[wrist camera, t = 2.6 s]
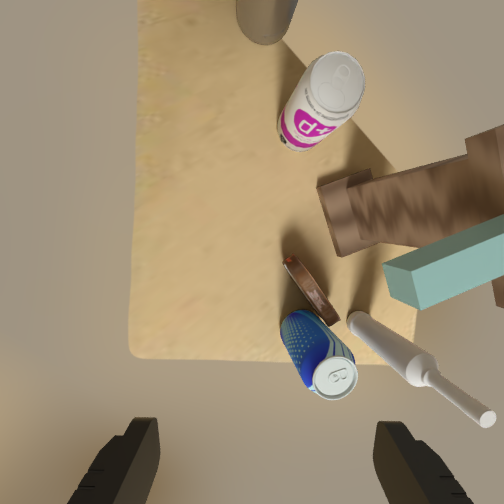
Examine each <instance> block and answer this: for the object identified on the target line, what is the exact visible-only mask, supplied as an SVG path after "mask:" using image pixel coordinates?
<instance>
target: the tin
mask: <svg viewBox="0 0 504 504" xmlns="http://www.w3.org/2000/svg"><path fill="white" fill-rule="evenodd" d="M283 265H284V267H285V268H286V270H287V271H288V273H289V274H290V275H291V277H292V278H293V280H294V281H295V283H296V284H297V286H298V287H299V289H300V290H301V291H302V293H303V294H304V296H305V297H306V298H307V300H308V301H309V303H310V304H311V305H312V307H313V308H314V309H315V311H316V312H317V313H318V315H319V316H320V317H321V318H322V319H323V320H324V322H325V323H326V325H327V326H328V327H330V326H332V325H333V324H335V323H336V322H338V321H340V320H341V319H340V317H339V315H338V314H337V312H336V311H335V309H334V308H333V306H332V305H331V303H330V302H329V300H328V299H327V297H326V296H325V295H324V293H323V292H322V290H321V289H320V287H319V286H318V284H317V283H316V281H315V280H314V278H313V277H312V275H311V274H310V273H309V271H308V270H307V269H306V267H305V266H304V265H303V263H302V262H301V261H300V260H299V259H298V258H297V257H296V256H295V255H294V254H292V255H291V256H290V257H288V258H287V259H285V260H284V261H283Z"/></svg>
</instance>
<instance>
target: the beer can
mask: <svg viewBox="0 0 504 504" xmlns="http://www.w3.org/2000/svg"><path fill="white" fill-rule="evenodd" d="M280 335H281V339H282V341H283V343H284V345H285V347H286V349H287V351H288V353H289V355H290V357H291V359H292V361H293V363H294V364H295V366H296V368H297V370H298V372H299V374H300V376H301V378H302V380H303V382H304V384H305V385H306V386H307V387H308V388H309V389H310V390H311V391H313V392H315V393H317V394H318V395H320V396H321V397H323V398H325V399H328V400H337V399H341V398H343V397H345V396H346V395H348V394H349V393H350V392H351V391H352V390H353V388H354V387H355V385H356V382H357V379H358V372H357V368H356V366H355V359H354V356H353V354H352V352H351V351H350V349H349V348H348V347H347V346H346V345H345V344H344V343H343V342H342V341H341V340H340V339H339V338H338V337H337V336H336V335H335V334H334V333H333V332H332V331H331V330H330V329H329V328H328V327H327V326H326V325H325V324H324V323H323V322H322V321H321V320H320V319H319V318H318V317H317V316H316V315H315V314H314V313H312V312H310V311H307V310H297V311H294V312H292V313H290V314H289V315H288V316H287V317H286V318H285V319H284V321H283V322H282V325H281V329H280Z"/></svg>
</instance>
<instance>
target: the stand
mask: <svg viewBox="0 0 504 504" xmlns="http://www.w3.org/2000/svg"><path fill="white" fill-rule="evenodd" d="M465 143H466V149H467V154H465V155H462V156H457V157H454V158H450V159H446V160H443V161H439V162H435V163H431V164H428V165H424V166H420V167H416V168H413V169H409V170H405V171H401V172H397V173H394V174H390V175H386V176H382V177H379V178H375V179H373V178H372V174H371V170H370V168H369V169H366V170H363V171H361V172H358V173H355V174H353V175H350V176H347V177H345V178H342V179H339V180H337V181H334V182H331V183H329V184H326V185H323V186H320V187H318V188H316V189H317V192H318V195H319V198H320V202H321V205H322V208H323V211H324V215H325V218H326V221H327V224H328V228H329V231H330V234H331V237H332V241H333V244H334V247H335V251H336V254H337V256H339V257H345V256H347V255H350V254H352V253H355V252H357V251H360V250H362V249H365V248H367V247H370V246H372V245H375V244H377V243H380V242H382V243H389V244H396V245H403V246H410V247H417V248H421V247H424V246H426V245H429V244H431V243H434V242H436V241H439V240H441V239H444V238H446V237H449V236H451V235H453V234H456V233H458V232H461V231H463V230H466V229H468V228H471V227H473V226H476V225H478V224H480V223H483V222H485V221H488V220H490V219H493V218H495V217H498V216H500V215H503V214H504V124H503V125H501V126H498V127H495V128H493V129H490V130H487V131H485V132H482V133H479V134H477V135H474V136H471V137H469V138H466V139H465ZM492 286H493V291H494V296H495V301H496V306H498V307H501V308H504V275H503V276H500V277H498V278H496V279H493V280H492Z"/></svg>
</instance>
